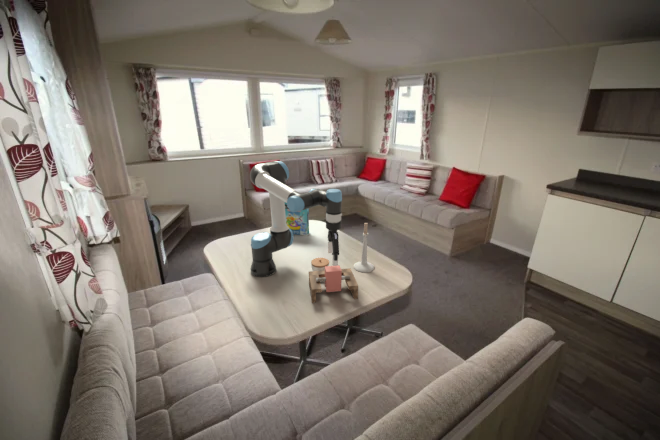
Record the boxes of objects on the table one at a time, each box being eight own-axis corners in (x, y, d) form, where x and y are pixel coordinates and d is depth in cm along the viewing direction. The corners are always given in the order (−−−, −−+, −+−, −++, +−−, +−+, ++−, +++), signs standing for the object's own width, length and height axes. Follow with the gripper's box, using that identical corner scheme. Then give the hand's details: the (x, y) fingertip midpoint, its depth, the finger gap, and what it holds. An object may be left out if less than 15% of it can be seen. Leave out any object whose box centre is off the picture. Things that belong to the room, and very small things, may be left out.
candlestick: (378, 268, 189) (381, 224, 179) (361, 274, 183) (363, 228, 173) (365, 260, 200) (368, 217, 189) (349, 265, 194) (351, 221, 183)
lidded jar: (316, 279, 178) (315, 265, 174) (308, 271, 187) (308, 257, 183) (332, 275, 182) (332, 261, 179) (324, 267, 191) (324, 253, 188)
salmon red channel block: (326, 292, 160) (326, 271, 156) (324, 286, 166) (324, 266, 162) (341, 290, 161) (341, 270, 157) (339, 284, 167) (339, 265, 163)
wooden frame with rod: (312, 302, 156) (311, 286, 153) (308, 283, 173) (308, 268, 170) (357, 298, 160) (358, 282, 157) (350, 280, 177) (350, 265, 173)
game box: (282, 233, 241) (280, 200, 231) (284, 230, 246) (283, 198, 237) (307, 235, 237) (306, 202, 228) (309, 232, 243) (308, 200, 234)
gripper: (346, 230, 139) (344, 270, 147) (336, 211, 162) (335, 247, 170) (330, 230, 138) (329, 271, 146) (322, 212, 161) (322, 248, 169)
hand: (332, 258), depth 158 cm, fingers open, 13 cm apart
